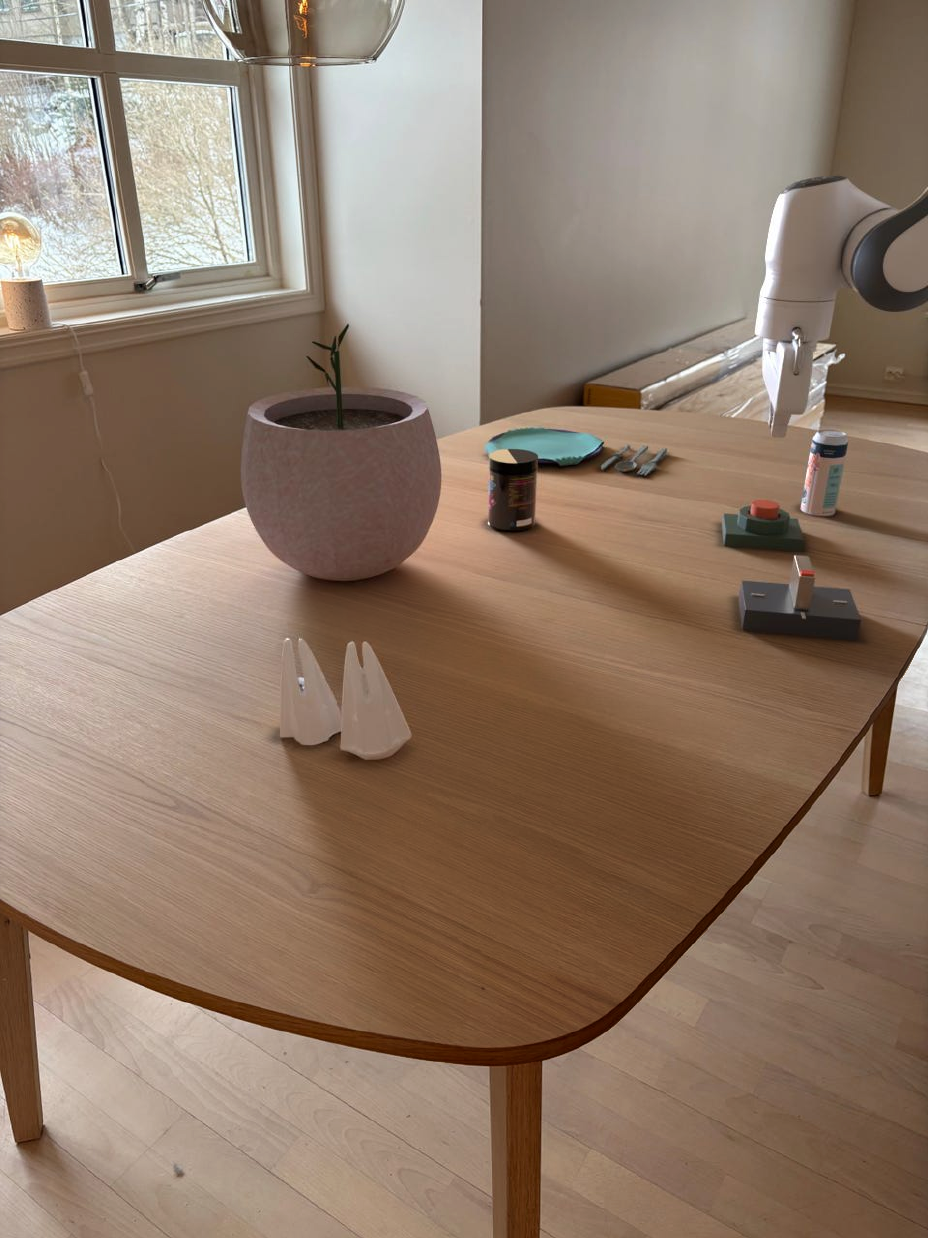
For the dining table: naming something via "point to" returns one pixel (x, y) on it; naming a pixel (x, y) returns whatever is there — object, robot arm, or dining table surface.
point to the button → (764, 509)
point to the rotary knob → (801, 582)
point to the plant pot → (341, 476)
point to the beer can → (824, 472)
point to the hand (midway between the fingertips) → (776, 432)
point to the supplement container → (512, 490)
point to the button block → (762, 531)
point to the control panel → (798, 611)
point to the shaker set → (366, 704)
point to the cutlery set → (565, 447)
